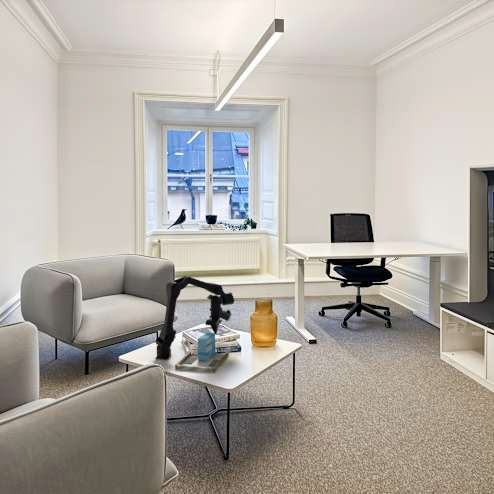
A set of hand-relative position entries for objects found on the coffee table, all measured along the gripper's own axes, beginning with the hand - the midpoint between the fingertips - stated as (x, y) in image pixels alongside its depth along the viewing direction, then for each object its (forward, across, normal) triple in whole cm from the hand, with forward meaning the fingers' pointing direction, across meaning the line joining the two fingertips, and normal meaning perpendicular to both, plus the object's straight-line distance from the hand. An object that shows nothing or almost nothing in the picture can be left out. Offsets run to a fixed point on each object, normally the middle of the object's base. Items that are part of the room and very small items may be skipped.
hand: (215, 333), depth 261 cm
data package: (+8, -17, 0) cm, 19 cm away
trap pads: (+8, -23, 0) cm, 25 cm away
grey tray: (+8, -23, 0) cm, 24 cm away
